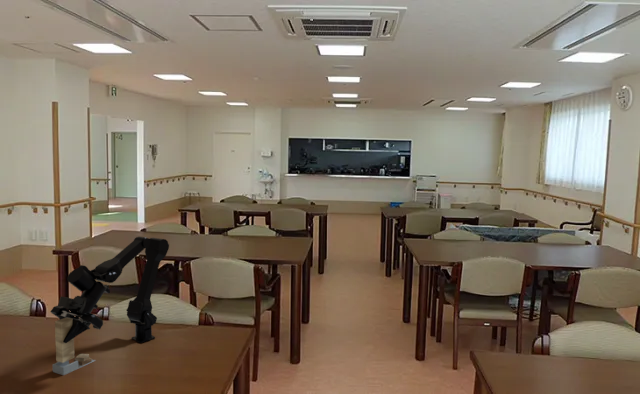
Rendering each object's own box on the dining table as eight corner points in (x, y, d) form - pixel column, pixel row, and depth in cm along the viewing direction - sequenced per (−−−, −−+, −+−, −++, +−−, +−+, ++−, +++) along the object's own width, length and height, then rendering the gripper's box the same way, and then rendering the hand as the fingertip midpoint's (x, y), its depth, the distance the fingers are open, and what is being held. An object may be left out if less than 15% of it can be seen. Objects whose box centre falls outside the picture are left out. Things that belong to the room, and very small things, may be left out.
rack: (85, 361, 163) (85, 350, 163) (95, 364, 161) (95, 353, 161) (52, 376, 153) (52, 364, 152) (63, 379, 150) (63, 367, 150)
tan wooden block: (68, 355, 156) (66, 317, 155) (74, 357, 155) (73, 318, 153) (56, 360, 152) (54, 321, 151) (62, 362, 151) (61, 323, 150)
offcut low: (83, 359, 162) (83, 355, 162) (91, 361, 160) (91, 358, 160) (73, 363, 159) (73, 359, 159) (82, 365, 157) (82, 362, 157)
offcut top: (80, 356, 161) (80, 353, 161) (89, 357, 161) (89, 354, 160) (75, 360, 158) (75, 357, 158) (84, 361, 158) (83, 357, 158)
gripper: (54, 281, 159) (23, 325, 150) (94, 290, 151) (64, 336, 142) (76, 298, 166) (47, 340, 158) (115, 307, 159) (87, 351, 150)
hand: (60, 341), depth 152 cm, fingers closed on tan wooden block, 3 cm apart
